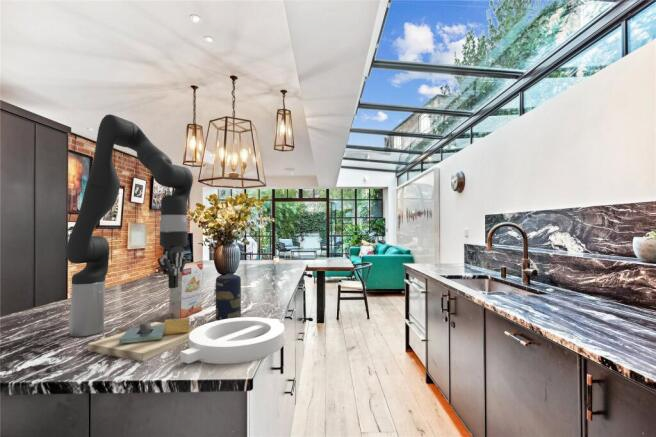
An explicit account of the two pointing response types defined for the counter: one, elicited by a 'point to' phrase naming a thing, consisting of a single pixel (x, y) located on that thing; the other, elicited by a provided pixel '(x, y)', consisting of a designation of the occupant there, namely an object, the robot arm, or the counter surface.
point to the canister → (228, 297)
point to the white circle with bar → (234, 340)
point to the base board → (140, 343)
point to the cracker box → (187, 291)
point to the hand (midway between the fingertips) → (173, 287)
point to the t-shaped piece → (156, 331)
